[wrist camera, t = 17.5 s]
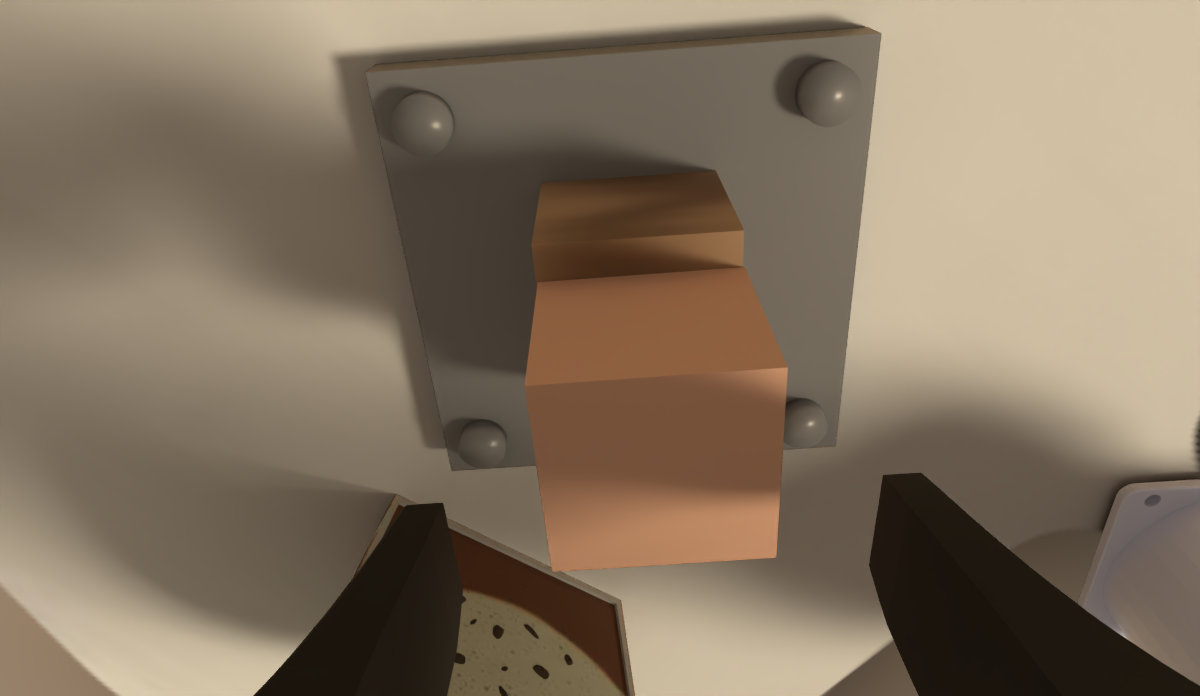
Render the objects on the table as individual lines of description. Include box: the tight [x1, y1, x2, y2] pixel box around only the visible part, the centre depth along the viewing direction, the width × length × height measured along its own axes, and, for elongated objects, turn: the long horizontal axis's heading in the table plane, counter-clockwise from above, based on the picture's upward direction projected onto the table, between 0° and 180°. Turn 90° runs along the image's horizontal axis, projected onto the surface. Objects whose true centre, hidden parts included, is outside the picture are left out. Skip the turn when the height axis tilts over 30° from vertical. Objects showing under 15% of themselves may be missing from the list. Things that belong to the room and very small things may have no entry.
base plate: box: [365, 27, 881, 471], centre depth 21 cm, size 12×12×2 cm
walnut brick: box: [531, 171, 744, 287], centre depth 19 cm, size 4×6×4 cm
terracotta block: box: [524, 267, 788, 572], centre depth 16 cm, size 4×4×4 cm
